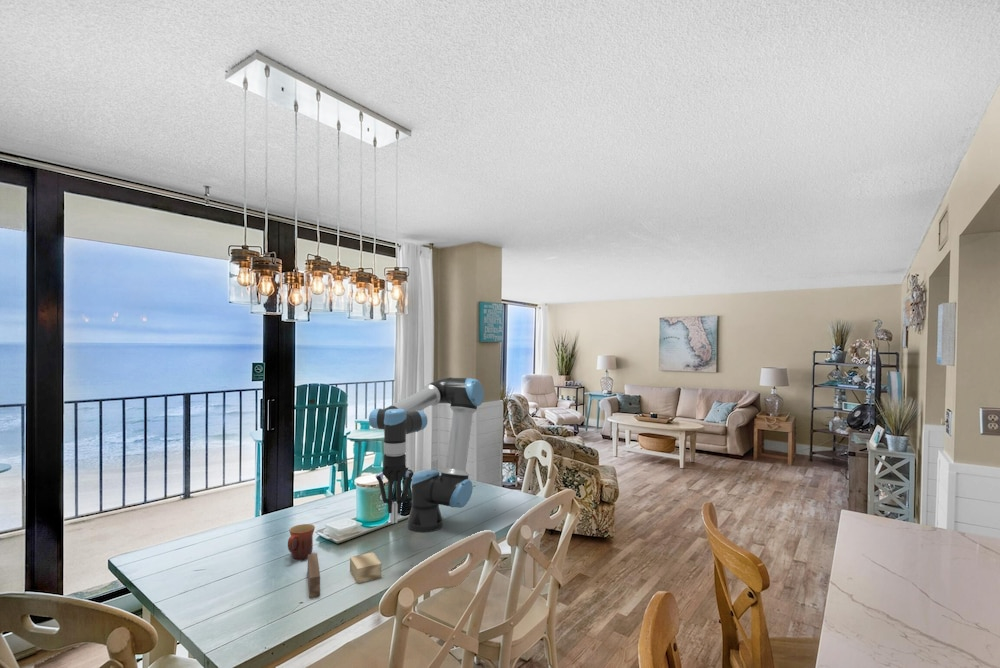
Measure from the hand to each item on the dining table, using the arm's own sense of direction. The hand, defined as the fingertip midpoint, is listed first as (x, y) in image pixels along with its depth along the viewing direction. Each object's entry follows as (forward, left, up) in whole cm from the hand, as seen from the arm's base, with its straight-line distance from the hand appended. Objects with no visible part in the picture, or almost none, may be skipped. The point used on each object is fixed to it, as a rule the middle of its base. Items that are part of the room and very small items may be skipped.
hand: (393, 521), depth 168 cm
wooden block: (+26, 0, -16) cm, 31 cm away
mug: (+30, -22, -17) cm, 41 cm away
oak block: (+9, 0, -17) cm, 19 cm away
